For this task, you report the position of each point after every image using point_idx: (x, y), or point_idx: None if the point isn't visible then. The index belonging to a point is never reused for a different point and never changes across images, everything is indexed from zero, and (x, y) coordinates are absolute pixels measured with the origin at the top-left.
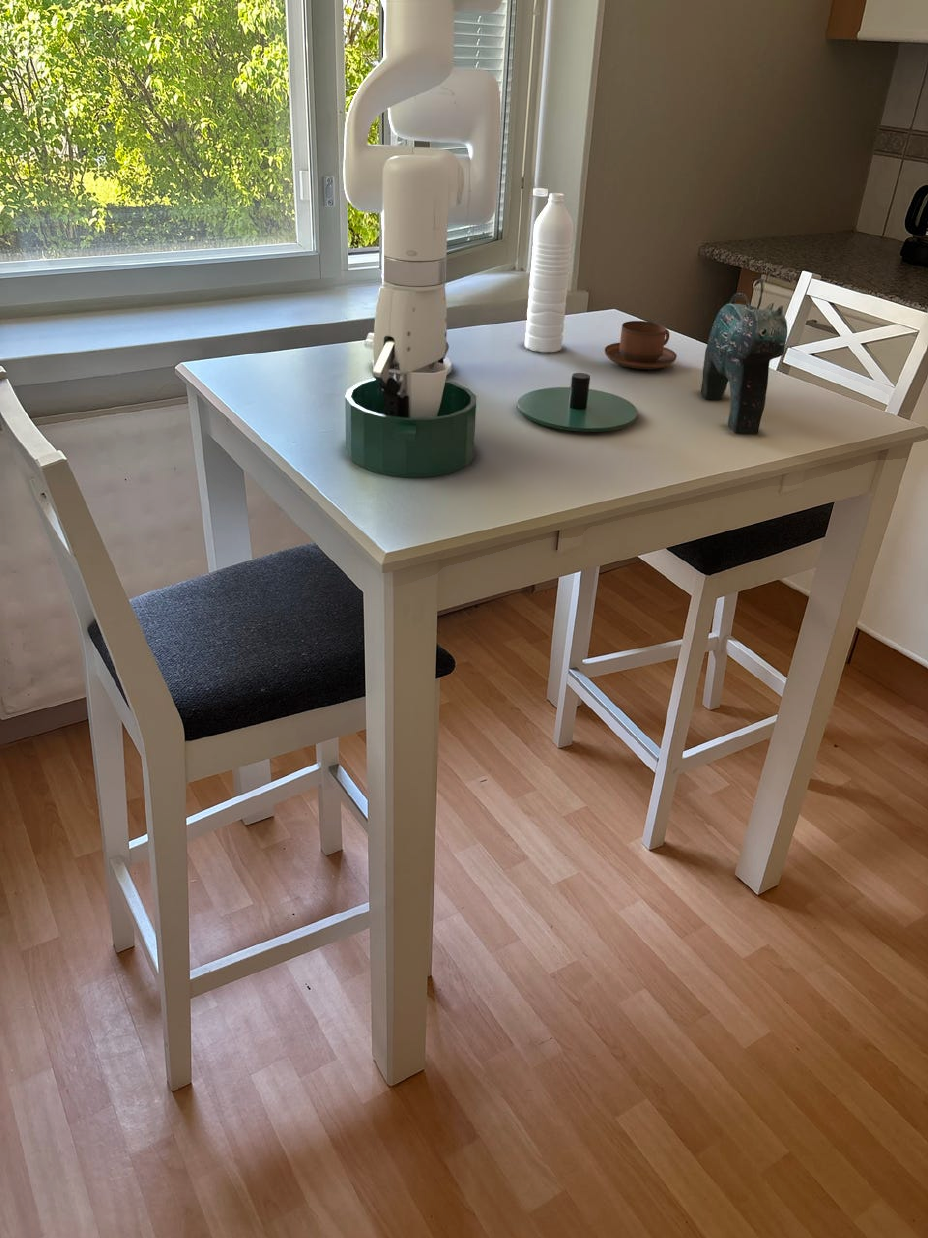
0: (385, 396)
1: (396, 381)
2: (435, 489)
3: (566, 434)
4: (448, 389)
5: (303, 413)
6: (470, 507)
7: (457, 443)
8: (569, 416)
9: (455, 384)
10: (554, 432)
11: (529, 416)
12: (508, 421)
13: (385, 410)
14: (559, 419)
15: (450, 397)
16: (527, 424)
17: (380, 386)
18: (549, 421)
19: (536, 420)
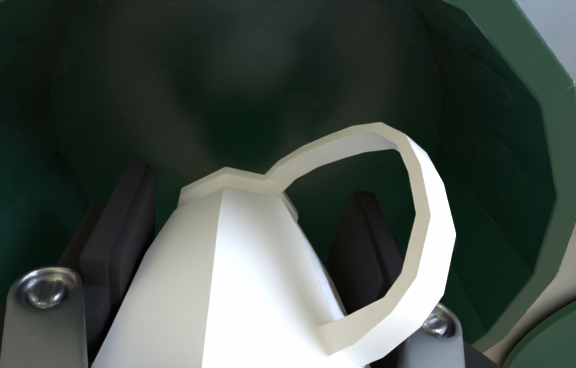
0: (87, 242)
1: (93, 362)
2: None
3: (497, 356)
4: (479, 300)
5: None
6: None
7: None
8: (571, 362)
9: (477, 345)
10: (504, 341)
11: (567, 312)
12: (566, 264)
13: (115, 191)
14: (548, 356)
15: (462, 283)
16: (548, 297)
17: (457, 18)
18: (533, 346)
19: (544, 324)
